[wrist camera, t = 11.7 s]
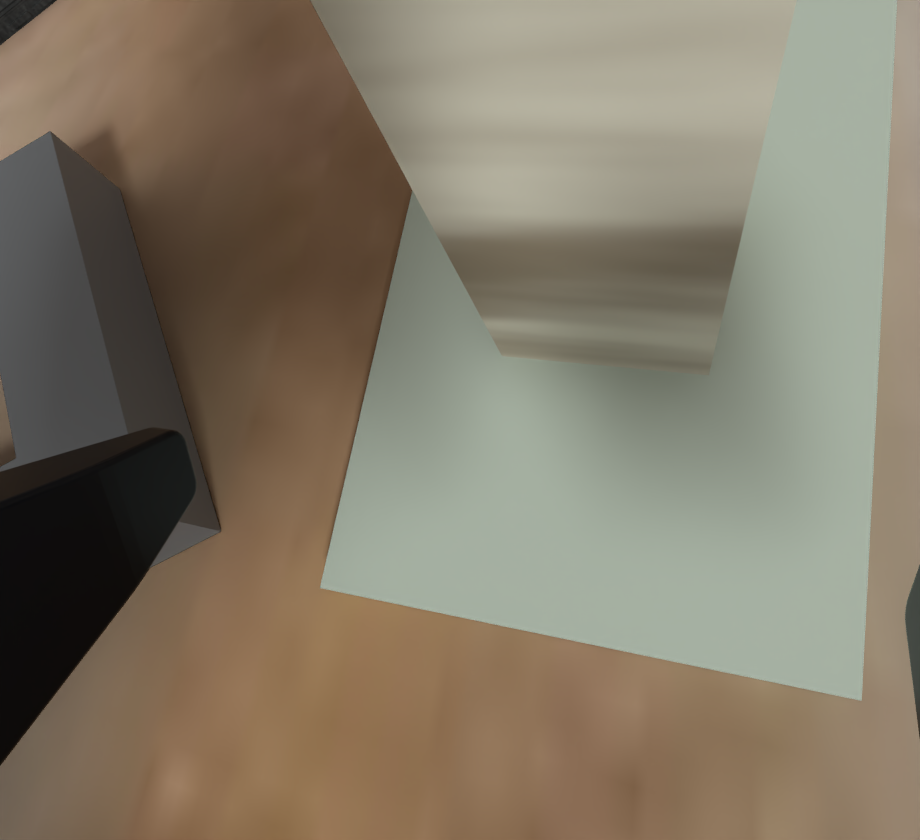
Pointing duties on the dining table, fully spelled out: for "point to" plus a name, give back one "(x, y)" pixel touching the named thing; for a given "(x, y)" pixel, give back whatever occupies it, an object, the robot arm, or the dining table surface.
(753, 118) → the birch block
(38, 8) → the phone
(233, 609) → the dining table surface
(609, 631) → the sage mat
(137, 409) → the pocket plate
